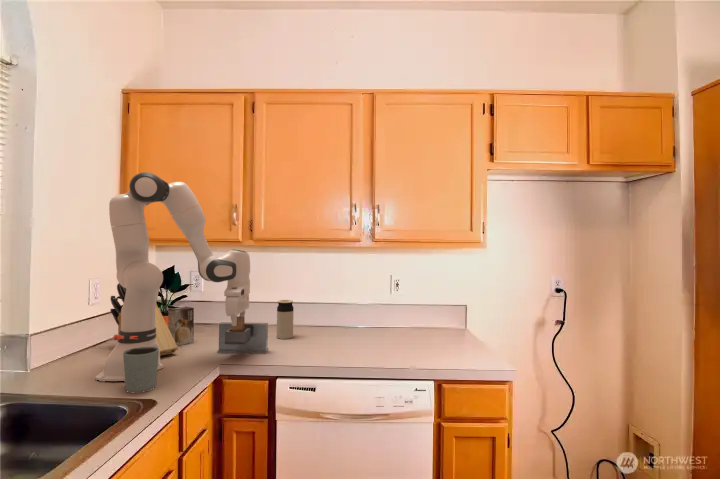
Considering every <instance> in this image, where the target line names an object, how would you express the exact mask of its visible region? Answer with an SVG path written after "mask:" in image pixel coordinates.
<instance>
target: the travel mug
mask: <svg viewBox="0 0 720 479" xmlns="http://www.w3.org/2000/svg"><path fill="white" fill-rule="evenodd" d="M293 302H294V301H293V300H292V299H279V300H277V303H278V305H277V306H276V338H277V339H280V340H287V339H288V340H290V339H292V338H293V337H294V306H293Z"/></svg>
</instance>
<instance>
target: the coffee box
mask: <svg viewBox="0 0 720 479" xmlns="http://www.w3.org/2000/svg"><path fill="white" fill-rule="evenodd" d="M194 309H195V308H194V307H191V306H181V307H173V308H168V310H167V311H168V312H167V314H168V316H167V318H168V319H167V322H168V324H167V326H168V328H169V330H170V333H171V335H172V337H173V339H174V341H175V343H176V345H177V347H178V346H181V345H186V344H193V343H194V342H195V340H194V338H195V336H194V334H195V332H194V330H195V329H194V328H195V321H194V320H195V319H194V318H195V315H194V314H195V310H194Z"/></svg>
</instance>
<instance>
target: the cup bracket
mask: <svg viewBox="0 0 720 479" xmlns="http://www.w3.org/2000/svg"><path fill="white" fill-rule="evenodd" d="M268 334H269V323H268V322H244V331H232V321H230V322H227V321H222V322H219V324H218V350H217V351H216V353H217V354H256V355H257V354H259V355H261V354H263V355H264V354H266V353H267V352H268V351H269V347H268V341H269V339H268V338H269V336H268Z"/></svg>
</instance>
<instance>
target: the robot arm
mask: <svg viewBox="0 0 720 479" xmlns="http://www.w3.org/2000/svg"><path fill="white" fill-rule="evenodd" d="M128 187H129V190H128V191H127V192H126V193H121V194H117V195H115V196H113V197H112V198H111V199H110V201H109V203H108V206H109V208H108V211H109V212H108V213H109V223H110V227H111V233H112V237H113V238H112V239H113V243H114V248H115V264H116V265H115V266H116V279H117V282H118V284H119V283H120V285H121V286H122V287H124V288H126V294H125V299H124V303H123V304H122V305H123V306H122V308H121V330H120V332H119V334H118V333H117V334H114V335H113V341H116V342H117V343H116V344H115V346H114V347H113V349H112V350H111V351H110V353H109V355H108V356H107V357H106V359H105V360H104V366H103V370H102V371H101V372H100V373H98V374H97V375H95V379H96V380H95V381H97V380H99V382H105V381H124V382H125V372H124V359H123V352H124V351H126V350H129V349H133V348H139V347H157V348H159V344H158V343H157V342H156V340H155V338H156V333H157V331H156V328H155V308H156V304H157V301H158V296H159V292H160V287H161V286H162V284H163V282H164V274H163V272H162V270H161V269H160V268H159V267H158V266H156V265H155V264H153V263H151V262H150V261H149V250H150V238H149V232H148V227H147V222H146V217H145V208H146V206H148V205H150V204H153V203H158V202H159V203H161V204H163V205H164V206H165V207H166V209H167V211H168V212H169V214H170V216H171V218H172V220H173V221H174V223H175V225H176V226H177V227H178V229H179V230H180V231H181V233H182V234H183V236H184V237H185V239H187V241H188V243H189V245H190V246H191V250H192V252H193V254H194V255H195V257H196V260H197V271H198V274H199V276H200V277H201V279H203V280H204V281H207V282H213V283H222V282H226V281H227V286H226V289H225V290H224V292H223V294H224V297H225V299H224V300H225V302H224V303H225V305H224V306H225V313H226V316H227V317H230V320H231V321H230V322H232V326H236V325H237V316H239V317H245V316H246V310H247V309H249V307H250V293H251V280H250V273H251V260H250V253H249V254H248V252H247V251H245V250H240V249H230V250H229V251H228V252H225V253H224V254H221V255H220V256H215V254H214V253H213V252H212V249H211V248H210V245H209V244H208V241H207V239H206V236H205V226H206V222H207V219H206V217H205V213H204V210H203V208H202V206H201V204H200V202H199V200H198V198H197V197H196V195H195V194H194V191H192V189H191V188H190V186H189V185H188V184H187V183H186V182H183V181H173V182H170V183H168V182H167V181H165V180H164V179H162V178H160V176H158V175H156V174H154V173H152V172H148V171H147V172H146V171H144V172H139V173H137V174H135V175H134V176H133V177H132V178H131V179H130V181H129V185H128ZM164 368H165V367H164V364H163V363H161V356H160V349H159V355H158V367H157V371H159V370H161V369H164Z"/></svg>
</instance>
